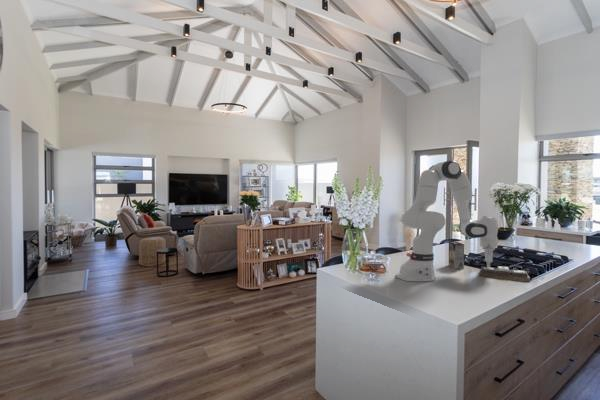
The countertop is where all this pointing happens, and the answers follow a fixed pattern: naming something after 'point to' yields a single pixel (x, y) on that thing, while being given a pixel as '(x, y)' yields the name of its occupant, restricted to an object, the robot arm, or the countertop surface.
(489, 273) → the button board
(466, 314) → the countertop surface
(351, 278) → the countertop surface
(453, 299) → the countertop surface
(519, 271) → the button two
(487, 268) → the button three
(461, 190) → the robot arm
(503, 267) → the button one
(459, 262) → the coffee box
